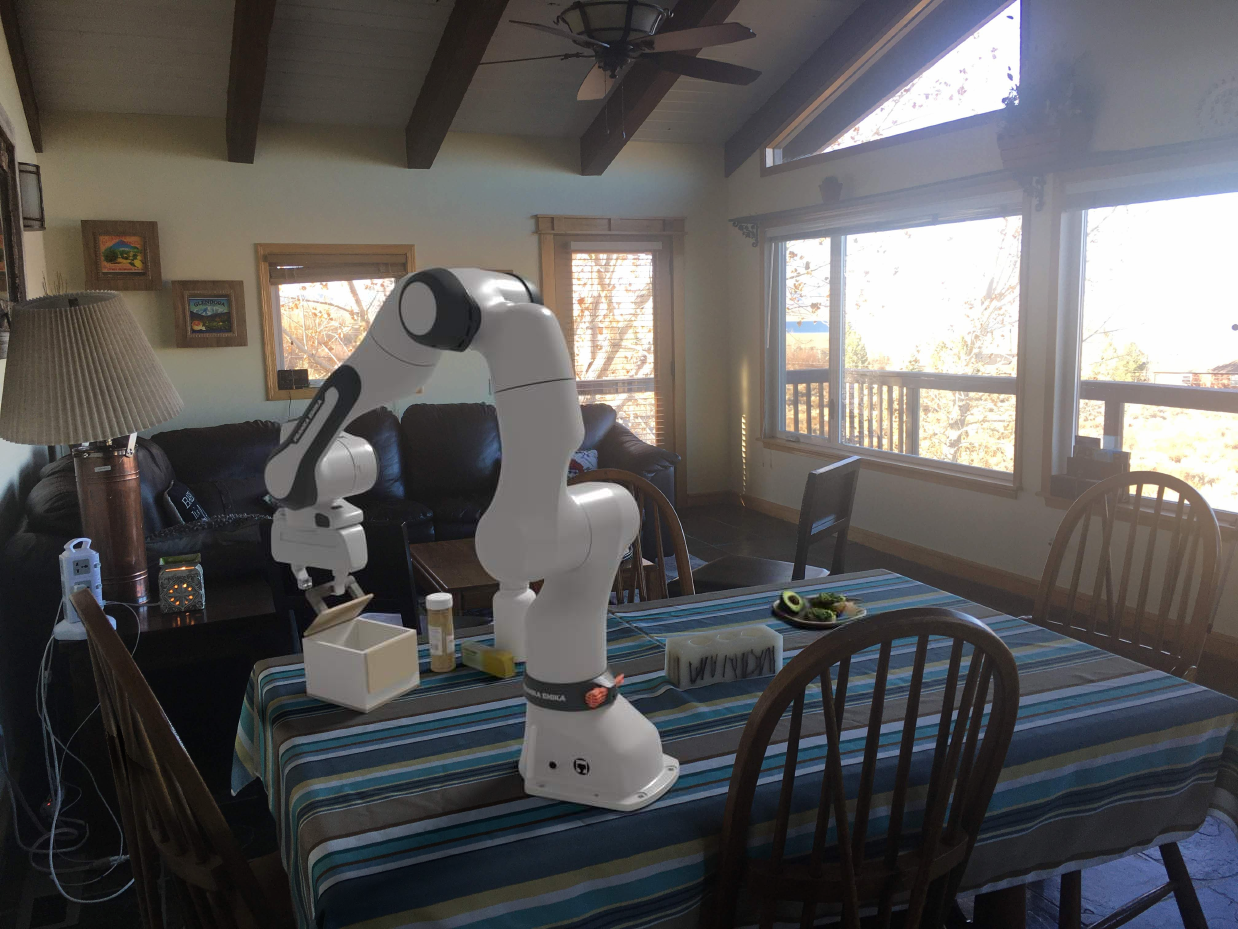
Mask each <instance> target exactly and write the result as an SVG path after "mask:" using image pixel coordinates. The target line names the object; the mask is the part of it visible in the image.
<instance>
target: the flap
mask: <svg viewBox="0 0 1238 929" xmlns="http://www.w3.org/2000/svg"><path fill="white" fill-rule="evenodd" d="M333 583H334V580H332V581H330V582H327V583H324V584H320V585H318V586H316V587H311V588H308V589H306V590H305V594H304V595H305V597H306V600H307V601H309V604H310V605H311V606H312V608H313V609H314V611H315V612H316V614H317V617H316V618H315V619H314V620H313V622H312V623H311V624H310V625H309V626H308V628H307V629H306V630H305V632H303V635H304V637H308V636H311V635H313V634H316V633H319V632H321V631H324V630H326V629H329V628H331V627H334V626H337V625H339V624H342V623H344V622H347V621H350V620H352V619H355V618H357V616H358V615H359V614H360V613H361V612H362V610H364V608H365V607H366V606H367V605H368V604H369V602H370V601H371V600H372V599H373V598H374V594H373V593H370V594H367V595H366V594H365V593H364V592H363V590H362V588H361V587H360V586H359V584H358V583H357V581H356V579H355V577H354V576H353V575H347V578H346V580H345V583H344V588H345V590H347V591H348V593H349V594H350V595H351V597H352V598H353V600H351V601H348V602H345V603H342V604H339V605H337V606H334V607H332V608H328V606H327V605H326V603H325V601H324V599H323V598H325V597H328V596H330V595H332V594H331V588H330V584H333Z"/></svg>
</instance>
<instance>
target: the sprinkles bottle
mask: <svg viewBox="0 0 1238 929" xmlns="http://www.w3.org/2000/svg"><path fill="white" fill-rule="evenodd" d="M425 605H426V606H425V607H426V611H427V628H428V630H427V631H428V643H429V652H430V670H432V671H433V672H436V673H445V672H446V673H447V672H451V671H453V670H454V669H455V668H456V667H457V663H456V654H455V653H456V652H455V648H456V647H455V635H454V623H453V610H452V608H453V605H454V604H453V596H452V594H451V593H447V592H437V593H436V592H435V593H431V594H429V595H427V596H426V597H425Z"/></svg>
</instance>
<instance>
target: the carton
mask: <svg viewBox="0 0 1238 929" xmlns="http://www.w3.org/2000/svg"><path fill="white" fill-rule="evenodd" d="M417 638H418V637H417V629H412V628H408V627H404V626H398V625H396V624H390V623H387V622H386V623H384V622H381V621H375V620H371V619H367V618H363V617H357V616H356V617H354V618H352V619H349V620H346V621H344V622H341V623H339V624H336V625H333V626H331V627H328V628H326V629H323V630H320V631H318V632H315V633H313V634H310V635H307V636H305V637H304V638H302V639H301V640H302V650H303V652H302V653H303V664H304V672H305V673H304V674H305V685H306V686H305V687H306V695H307V697H310V698H313V699H318V700H320V701H324V702H327V703H330V704H332V705H333V704H334V705H337V706H340V707H344V708H347V709H349V710H350V709H351V710H354V711H358V712H360V713H364V714H368V713H369V712H372V711H373V710H376V709H378V708H380V707H382V706H384V705H386V704H388V703H389V702H392V701H393V700H396V699H397V698H400V697H401V696H403V695H405V694H408V693H410V692H412V691H413V690H415V689H419V687H420V686H421V684H420V683H421V682H420V680H421V679H420V667H419V666H420V665H419V652H418V650H419V649H418V641H417V640H418V639H417Z"/></svg>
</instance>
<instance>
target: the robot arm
mask: <svg viewBox="0 0 1238 929" xmlns="http://www.w3.org/2000/svg"><path fill="white" fill-rule="evenodd" d="M369 326H370V327H369V328H368V330H367V332H366V333H365V335H364V337H363V338H362V339H361V341H360V342H359V344H358V345H357V346H356V348H355V349H354V350H353V352H352V353H351V354H350V355H349V356H348V358H345V360H344V361H343V362H342V363H341V364H340V366H337V367H336V369H335V370H333V371H332V373H330V374H329V376H327V378H326V379H325V380H324V381H323V383H322V384H321V386H320V387H319V389H318V390H317V392H315V394H314V396H313V398H312V399H311V401H310V402H309V403H308V405H307V406H306V409H305V410H304V411H303V413H302V414H301V416H300V417H294V418H292V419H289V420H287V421H285V422H284V423H283V424H282V425H281V428H280V429H281V430H280V435H279V444H278V445H277V446H276V447H275V448H273V450H272V451H271V453H270V454H269V456H268V458H267V459H266V463H265V465H264V469H263V474H262V476H263V484H264V487H265V488H264V489H265V490H266V491H267V493H268V495H269V496H270V497H271V498H272V499H273V500H274V501H275V502H277V504H279V505H281V506H282V507H279V508H278V509H277V510H276V511H275V512H274V514H273V516H272V520H273V523H272V524H271V532H270V534H271V535H270V536H271V537H270V538H271V539H270V544H271V545H270V546H271V555H272V557H273V559H274V560H275V562H279V563H287V564H290V567H291V568H290V569H291V571H292V572H293V574H294V576H295V579H297V586H298V588H299V589H300V590H308V589H311V588H313V583H312V581H313V580H312V577H311V576H309V575H308V572H307V570H306V568H307V567H311V568H312V567H313V568H318V569H319V568H320V569H325V570H332V576H334V579H333V581H334V583H333V584H330V588H331V595H335V596H340V595H343V594H345V592H346V591H345V590H346V589H345V588H344V583H345V580H346V578H347V576H349V573H353V572H356V571H360V570H362V569H364V568H365V567H366V565H367V562H368V547H367V540H366V534H365V530H364V528H363V526H362V525H361V524H360V523H361V522H363V521H364V513H363V510H362V509H360V508H358V507H357V506H355V505H354V504H351V503H350V502H348V501H346V500H345V499H344V498H346V497H351V496H354V495H359V494H362V493H365V492H366V491H369V490H371V489H372V488H373V487H374V486H375V484H376V483H377V480H378V478H379V474H380V460H379V456H378V453H377V450H376V449H375V447H374V446H373V445H372V444H371V443H370V441H369V440H367V439H365V438H364V437H361V436H355V435H352V434H350V433H348V432H345V431H344V430H345V429H346V427H347V426H348V425H349V424H350V423H351V422H352V421H354V420H355V419H357V418H359V417H360V416H362V415H363V414H366V413H369V412H370V411H373V410H375V409H377V408H381V407H383V406H386V405H389V404H391V403H395V402H397V401H401V400H404V399H407V398H409V397H411V396H413V395H414V394H416V393H417V392H418V391H420V390H421V388H422V387H424V385H425V384H426V383H427V382H428V380H429V379H430V378H431V376H432V375H433V374H434V372H435V371H436V368H437V366H438V364H439V362H440V360H441V358H442V357H443V355H444V352H445V351H449V352H450V351H451V352H455V353H464V352H466V350H471V351H476V352H478V353H480V354H481V355H482V356H483V358H484V359H485V361H486V363H487V366H488V370H489V375H490V382H491V388H492V394H493V400H494V405H495V412H496V417H497V422H498V423H497V424H498V430H499V436H500V437H499V438H500V445H501V465H500V466H501V468H500V474H499V478H498V483H497V487H496V490H495V493H494V496H493V498H492V500H491V503H490V505H489V507H488V508H487V509H486V511H485V512H484V513H483V515H482V516H481V518H480V519H479V521H478V523H477V527H476V531H475V538H474V540H475V541H474V543H475V544H474V545H475V546H474V547H475V552H476V555H477V558H478V560H479V562H480V564H481V566H482V567H483V569H484V570H485V571H486V573H488V575H489V576H491V577H492V578H493V579H494V580H495V581H498V582H499V583H500V582H504V583H520V582H529V583H533V582H538V581H541V580H544V582H543V584H542V587H541V589H540V591H539V592H538V594H536V598H535V599H534V600H533V602H532V603H531V604H530V606H529V607H528V609H527V611H526V614H525V618H524V634H525V657H526V661H525V667H524V669H523V672H522V673H523V674H522V676H523V677H522V684H523V697H524V699H526V710H525V711H526V714H525V729H524V737H523V743H522V749H521V754H520V757H519V760H518V764H517V765H518V771H519V773H520V775H521V777H522V778H523V779H524V787H523V788H524V792H525V793H526V794H528V795H531V796H538V797H542V798H543V797H544V798H548V799H554V800H559V801H560V800H561V801H565V802H571V803H575V804H576V803H577V804H583V805H586V806H587V805H588V806H594V807H597V808H604V809H605V808H606V809H610V810H616V811H623V812H631V811H634V810H638V809H640V808H643V807H646V806H648V805H650V804H652V803H653V802H655V801H657V799H659V798H660V797H662V796H663V795H664V794H665V793H667V792H668V790H670V789H671V788H672V786H673V785H674V784H675V783H676V781H677V780H678V778H679V776H680V769H681V768H680V762H679V760H678V759H677V758H674V757H672V756H671V755H668V754H666V753H663V747H662V740H661V737H660V733H659V731H658V729H657V727H656V726H655V725H654V724H653V723H652V722H651V721H650V720H648V719H647V718H646V717H645V716H644V715H643V714H642V713H641V712H640V711H639V710H637V709H636V708H635V706H633V705H632V704H631V703H630V702H629V701H628V700H627V699H626V698H625V697H623V696H622V694H620V692H619V691H620V690H619V686H620V685H622V684H623V683H624V682H625V680H624V679H623V678H624V676H625V674H624V673H621V674H620V675H618V676H616V678H615V677H614V673H613V671H612V669H611V667H610V666H611V665H610V664H609V663H608V662H607V614H608V606H609V601H610V597H611V592H612V589H613V584H614V581H615V578H616V577H617V576H616V575H617V572H618V569H619V566H620V564H621V562H622V559H624V556H625V555H626V552H627V550H628V549H629V548H630V546H631V545H632V543H633V542H634V541H635V539H636V538H637V536H638V534H639V531H640V525H641V516H640V510H639V507H638V504H637V501H636V499H635V497H634V496H633V495H632V493H631V492H630V491H629V490H628V489H627V488H625V487H624V486H622V485H620V484H617V483H615V482H614V483H613V482H606V481H605V482H602V481H587V482H583V483H577V484H574V485H573V484H572V485H568V473H569V468H570V464H571V461H572V458H573V456H574V455H575V453H576V452H577V451H578V450H579V449H580V448H581V446H582V445H583V442H584V440H585V433H586V430H585V424H584V419H583V414H582V408H581V405H580V398H579V393H578V386H577V380H576V377H575V373H574V372H575V371H574V368H573V362H572V358H571V356H570V351H569V349H568V345H567V341H566V339H565V337H564V336H565V335H564V333H563V330H562V328H561V325H560V323H559V321H558V317H557V316H556V315H555V313H554V312H553V311H552V310H551V309H550V308H548V307H546V306H545V303H544V298H543V296H542V294H541V291H540V290H539V288H538V287H537V286H536V285H535V284H534V283H533V281H531V280H529V279H528V278H526V277H523V275H519V274H517V273H516V274H515V273H513V272H497V271H493V270H485V269H481V268H477V267H455V268H443V267H433V268H427V269H424V270H421V271H414V272H411V273H408V274H406V275H405V276H403V277H402V278H400V279H399V280H398V282H397V283H396V285H394V287H393V288H392V289H391V291H390V292H389V293H388V295H387V296H386V298H385V299H384V301H383V303H382V304H381V305H380V307H379V310H378V311H377V312H376V314H375V316H374V317H373V320H372V321H371V324H370V325H369Z"/></svg>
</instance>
